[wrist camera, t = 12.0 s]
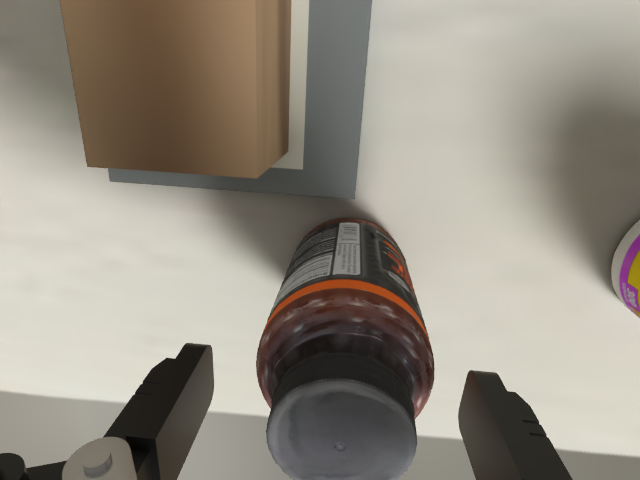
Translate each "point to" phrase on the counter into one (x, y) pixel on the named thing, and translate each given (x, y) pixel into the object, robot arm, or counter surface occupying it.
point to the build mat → (307, 109)
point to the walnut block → (181, 83)
